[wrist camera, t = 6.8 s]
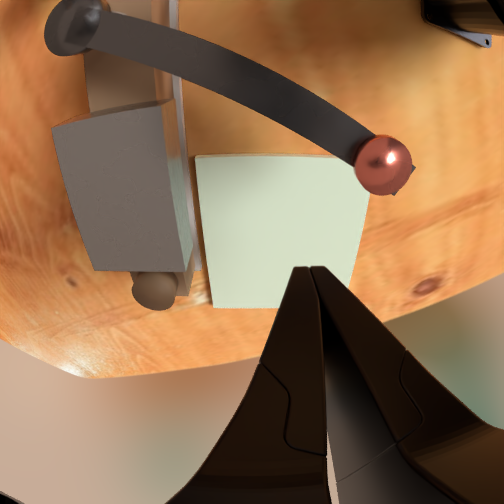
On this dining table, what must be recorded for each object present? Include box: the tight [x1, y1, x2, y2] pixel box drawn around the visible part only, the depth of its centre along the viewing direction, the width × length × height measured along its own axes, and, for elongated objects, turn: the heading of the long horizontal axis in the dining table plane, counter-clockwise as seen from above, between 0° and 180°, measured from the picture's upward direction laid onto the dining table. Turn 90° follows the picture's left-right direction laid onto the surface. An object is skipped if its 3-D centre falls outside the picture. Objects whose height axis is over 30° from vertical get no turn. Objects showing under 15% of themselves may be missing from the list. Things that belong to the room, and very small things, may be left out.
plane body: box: [83, 0, 202, 311], centre depth 15 cm, size 21×5×7 cm, turn 1°
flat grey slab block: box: [51, 98, 193, 272], centre depth 14 cm, size 6×9×2 cm, turn 1°
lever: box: [44, 0, 416, 196], centre depth 9 cm, size 16×3×2 cm, turn 62°
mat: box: [195, 153, 370, 308], centre depth 23 cm, size 12×14×1 cm
